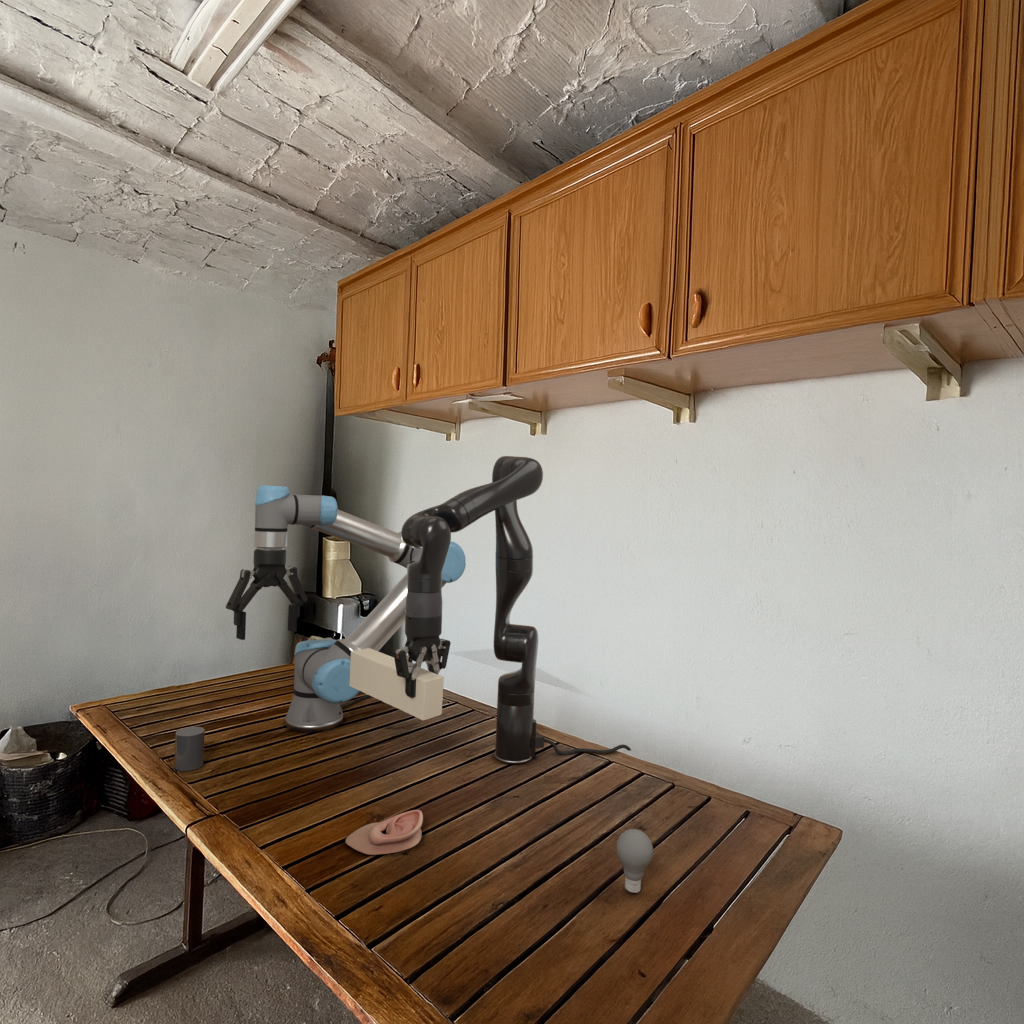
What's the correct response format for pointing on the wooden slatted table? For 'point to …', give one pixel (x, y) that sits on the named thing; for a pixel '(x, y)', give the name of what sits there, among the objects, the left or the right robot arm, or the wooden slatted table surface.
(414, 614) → the right robot arm
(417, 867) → the wooden slatted table surface
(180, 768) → the dark grey cylinder
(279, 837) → the wooden slatted table surface
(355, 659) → the plank
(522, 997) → the wooden slatted table surface
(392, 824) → the anatomical model
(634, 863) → the light bulb
